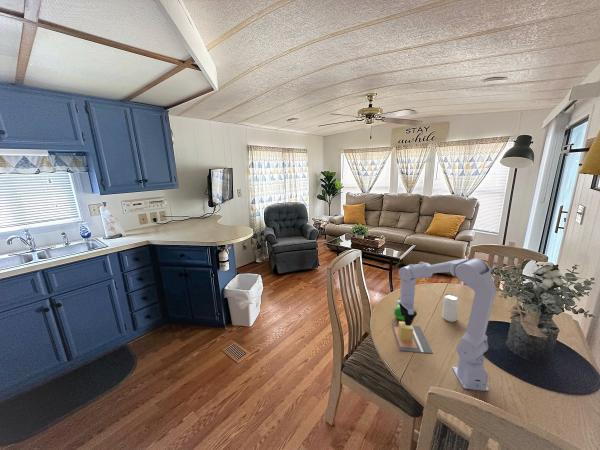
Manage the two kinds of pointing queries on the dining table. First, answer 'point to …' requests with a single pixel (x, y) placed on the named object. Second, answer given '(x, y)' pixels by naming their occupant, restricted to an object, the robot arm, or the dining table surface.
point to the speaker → (398, 312)
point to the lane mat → (418, 341)
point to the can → (450, 307)
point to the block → (405, 332)
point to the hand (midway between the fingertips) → (405, 320)
